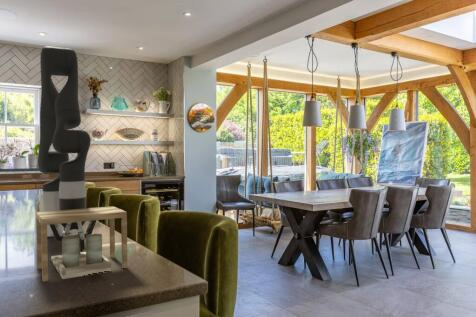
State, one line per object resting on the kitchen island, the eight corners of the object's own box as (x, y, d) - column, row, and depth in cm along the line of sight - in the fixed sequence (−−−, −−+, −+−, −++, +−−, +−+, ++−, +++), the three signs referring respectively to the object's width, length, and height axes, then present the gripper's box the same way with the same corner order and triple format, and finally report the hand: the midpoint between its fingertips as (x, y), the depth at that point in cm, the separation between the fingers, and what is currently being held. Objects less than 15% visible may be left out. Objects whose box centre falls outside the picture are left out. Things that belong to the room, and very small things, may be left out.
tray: (51, 259, 119) (50, 229, 119) (92, 254, 126) (92, 225, 126) (62, 279, 101) (61, 243, 101) (111, 271, 107) (110, 237, 107)
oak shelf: (36, 268, 110) (36, 212, 110) (113, 257, 122) (113, 206, 121) (42, 281, 99) (41, 219, 98) (127, 268, 110) (126, 211, 109)
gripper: (48, 198, 114) (49, 259, 114) (99, 195, 121) (100, 252, 122) (45, 196, 120) (46, 253, 121) (94, 193, 128) (94, 247, 128)
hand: (73, 252), depth 121 cm, fingers closed on tray, 3 cm apart
